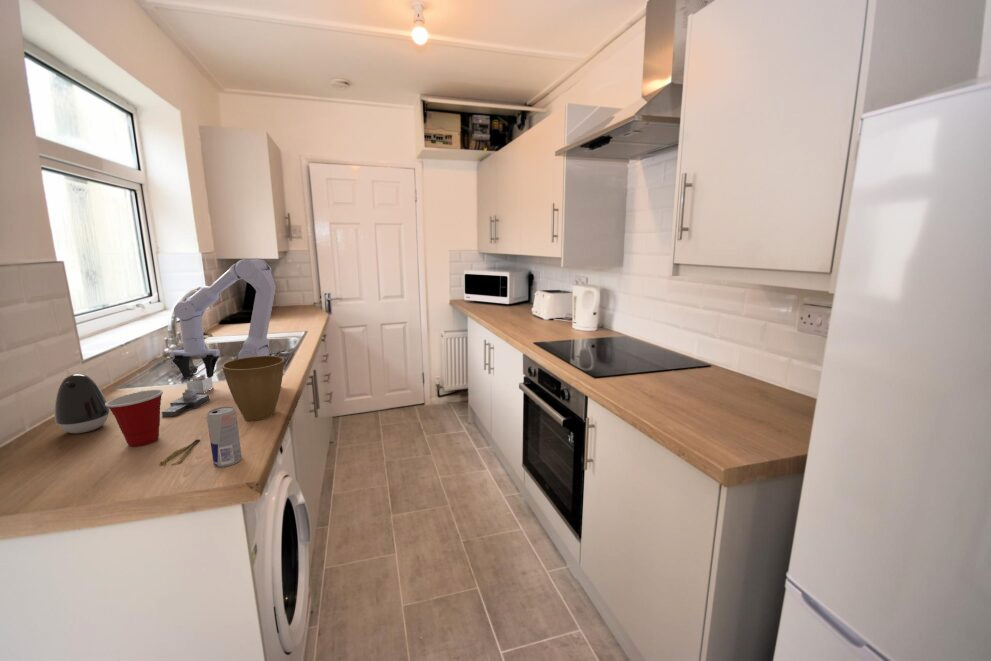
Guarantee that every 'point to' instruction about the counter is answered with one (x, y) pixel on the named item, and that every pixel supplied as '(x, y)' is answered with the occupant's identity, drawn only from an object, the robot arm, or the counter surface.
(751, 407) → the counter surface
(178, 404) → the dark grey piece
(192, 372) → the salt shaker
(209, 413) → the energy drink
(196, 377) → the cube with round knob
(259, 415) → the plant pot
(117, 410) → the plastic cup
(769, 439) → the counter surface
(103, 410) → the grey egg-shaped dome
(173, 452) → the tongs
